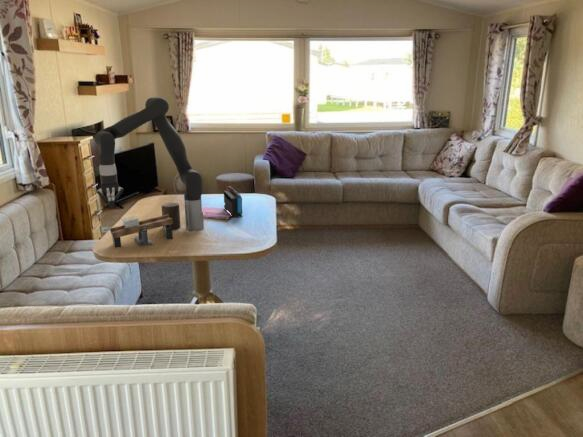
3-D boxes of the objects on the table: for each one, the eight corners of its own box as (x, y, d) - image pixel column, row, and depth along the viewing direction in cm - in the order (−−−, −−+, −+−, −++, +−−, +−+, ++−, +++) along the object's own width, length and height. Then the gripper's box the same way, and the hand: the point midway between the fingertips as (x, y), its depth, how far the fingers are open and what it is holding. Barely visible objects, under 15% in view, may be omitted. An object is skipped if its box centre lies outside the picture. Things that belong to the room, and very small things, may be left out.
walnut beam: (168, 218, 251) (167, 213, 251) (173, 223, 244) (172, 218, 243) (111, 233, 239) (109, 228, 238) (113, 238, 231) (112, 233, 230)
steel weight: (138, 224, 242) (136, 215, 241) (140, 227, 238) (138, 218, 237) (124, 228, 240) (122, 219, 238) (126, 231, 235) (123, 221, 234)
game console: (244, 218, 283) (243, 195, 279) (233, 219, 281) (233, 196, 277) (232, 206, 308) (231, 184, 304) (222, 207, 306) (222, 185, 302)
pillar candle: (176, 231, 260) (174, 204, 256) (159, 229, 262) (158, 203, 258) (183, 225, 269) (182, 200, 265) (167, 224, 271) (166, 199, 267)
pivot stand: (167, 233, 256) (166, 216, 253) (174, 241, 244) (173, 224, 241) (112, 241, 243) (110, 224, 240) (116, 250, 231) (114, 232, 228)
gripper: (121, 170, 232) (124, 204, 238) (92, 173, 226) (96, 207, 232) (123, 173, 226) (127, 208, 231) (94, 176, 220) (98, 211, 225)
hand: (112, 207), depth 231 cm, fingers closed
